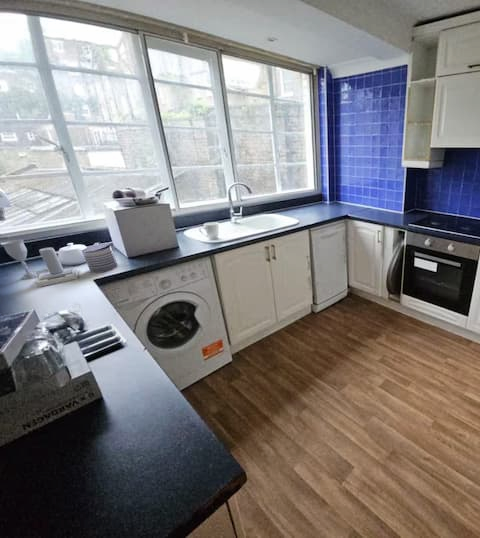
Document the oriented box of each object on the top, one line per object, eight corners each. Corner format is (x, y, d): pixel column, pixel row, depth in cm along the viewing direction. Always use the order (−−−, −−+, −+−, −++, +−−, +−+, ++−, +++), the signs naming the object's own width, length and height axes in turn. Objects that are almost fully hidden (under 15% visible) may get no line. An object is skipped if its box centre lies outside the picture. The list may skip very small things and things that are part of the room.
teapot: (51, 271, 149) (42, 251, 145) (52, 263, 158) (43, 245, 154) (106, 259, 162) (99, 241, 158) (104, 253, 172) (97, 235, 167)
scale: (38, 287, 132) (35, 281, 131) (41, 278, 140) (39, 273, 139) (77, 278, 140) (74, 273, 139) (77, 271, 148) (75, 266, 147)
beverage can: (48, 275, 137) (36, 251, 132) (53, 271, 141) (41, 248, 136) (61, 273, 139) (50, 249, 134) (66, 269, 143) (55, 246, 138)
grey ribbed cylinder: (111, 271, 147) (102, 248, 142) (85, 274, 144) (75, 251, 140) (122, 263, 157) (114, 241, 152) (97, 265, 155) (88, 243, 150)
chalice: (41, 272, 147) (24, 238, 140) (41, 276, 143) (23, 241, 136) (20, 277, 143) (1, 242, 135) (19, 281, 138) (-1, 245, 131)
